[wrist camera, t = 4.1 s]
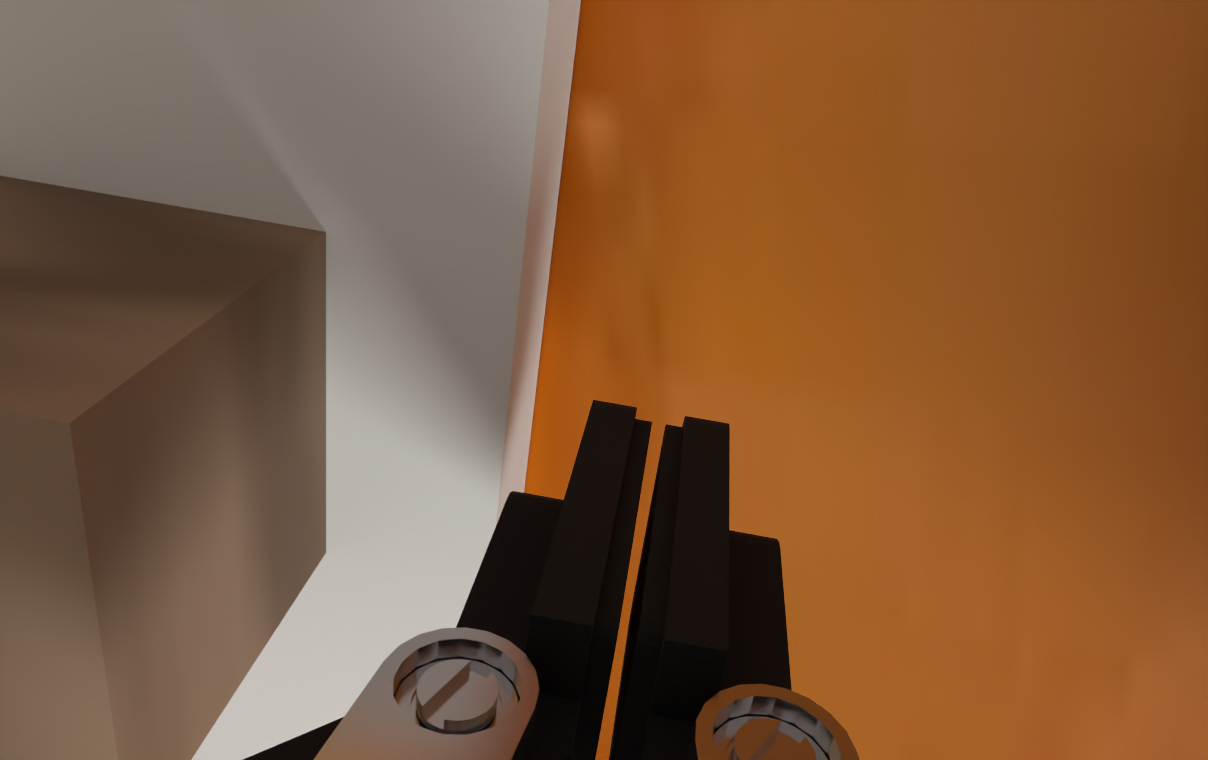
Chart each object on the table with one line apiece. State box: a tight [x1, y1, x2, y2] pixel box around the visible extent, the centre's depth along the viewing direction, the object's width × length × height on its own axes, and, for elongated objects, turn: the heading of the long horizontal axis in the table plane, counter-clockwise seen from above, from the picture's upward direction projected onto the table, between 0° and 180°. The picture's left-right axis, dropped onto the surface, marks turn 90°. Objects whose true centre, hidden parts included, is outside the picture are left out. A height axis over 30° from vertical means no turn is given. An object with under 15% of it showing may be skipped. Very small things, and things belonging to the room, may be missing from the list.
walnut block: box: [0, 176, 326, 760], centre depth 11 cm, size 5×5×5 cm
